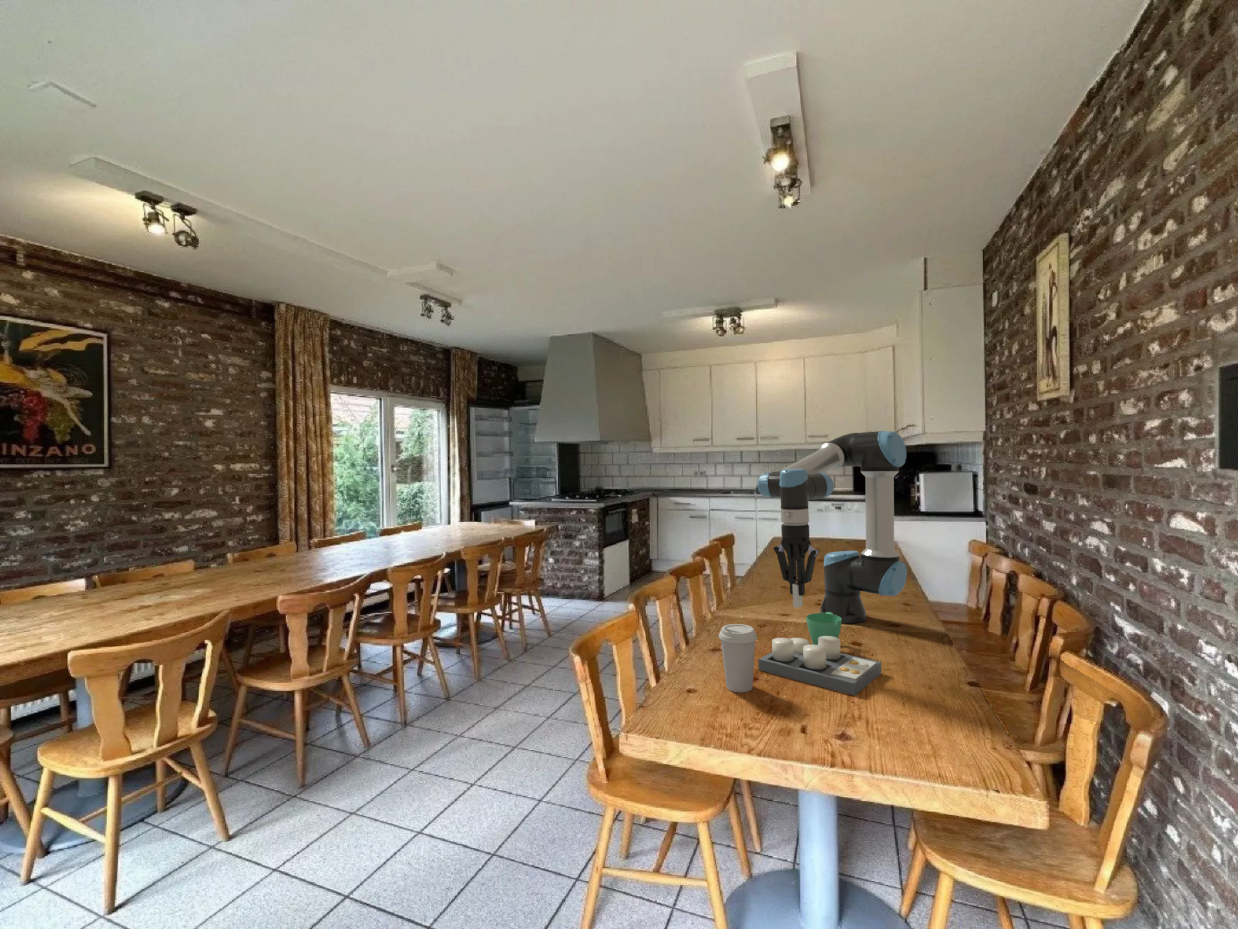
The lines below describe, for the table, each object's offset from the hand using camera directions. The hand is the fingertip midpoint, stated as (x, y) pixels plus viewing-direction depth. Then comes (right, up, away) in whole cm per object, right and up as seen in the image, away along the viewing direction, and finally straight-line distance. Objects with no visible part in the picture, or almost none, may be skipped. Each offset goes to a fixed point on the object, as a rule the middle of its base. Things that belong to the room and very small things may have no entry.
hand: (797, 606), depth 162 cm
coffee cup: (-20, -17, -17) cm, 31 cm away
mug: (+11, -15, +9) cm, 21 cm away
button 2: (0, -14, 0) cm, 14 cm away
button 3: (0, -12, -13) cm, 18 cm away
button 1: (-6, -12, -6) cm, 15 cm away
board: (+3, -15, -9) cm, 18 cm away
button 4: (+7, -12, -6) cm, 15 cm away
